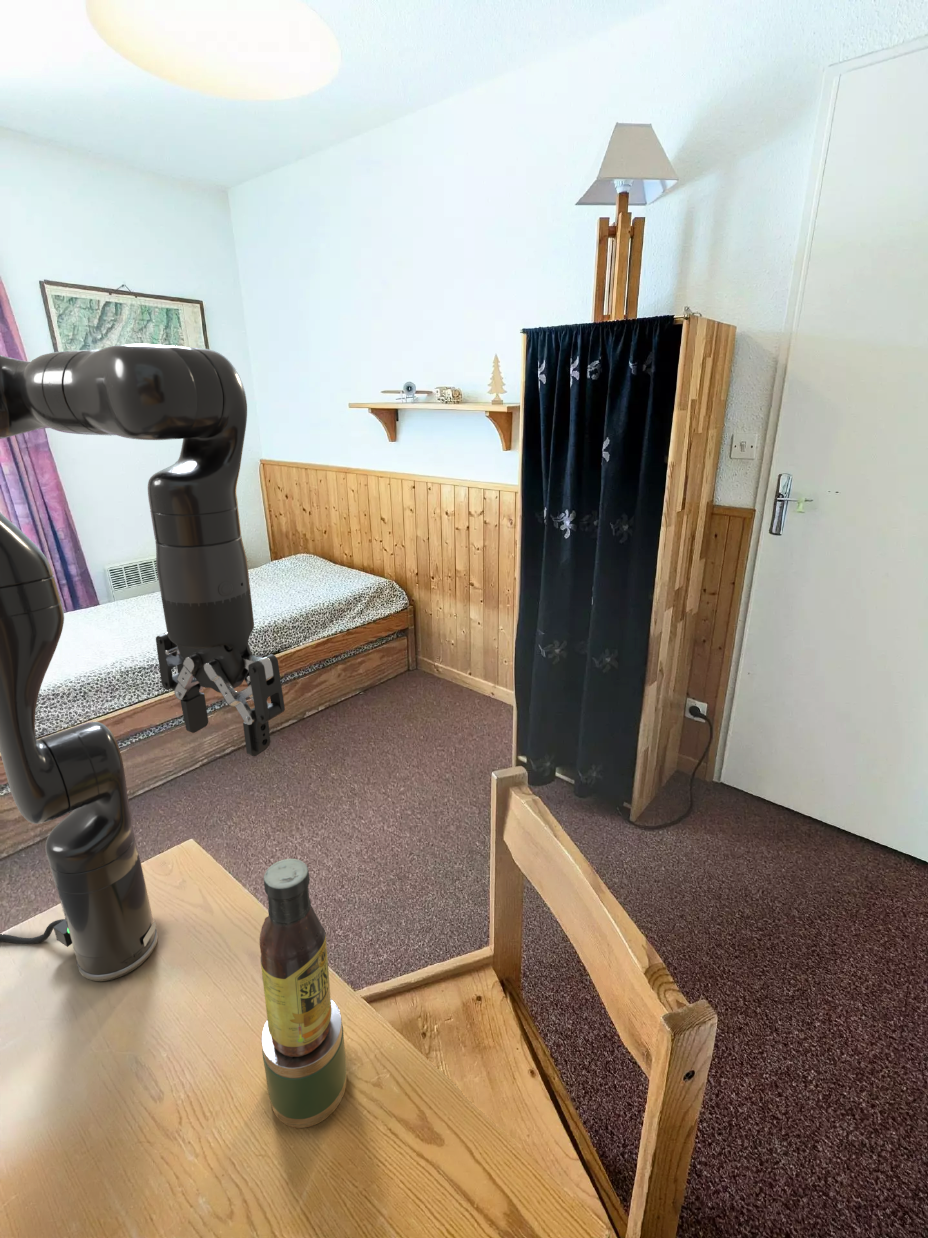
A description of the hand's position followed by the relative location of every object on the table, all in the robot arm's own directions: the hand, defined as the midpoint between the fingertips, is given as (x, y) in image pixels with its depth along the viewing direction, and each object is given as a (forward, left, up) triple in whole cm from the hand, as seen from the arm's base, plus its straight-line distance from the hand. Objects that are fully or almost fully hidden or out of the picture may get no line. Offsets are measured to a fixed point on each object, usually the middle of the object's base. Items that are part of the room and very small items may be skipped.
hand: (227, 739), depth 61 cm
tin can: (+11, -4, -38) cm, 39 cm away
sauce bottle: (+11, -4, -29) cm, 31 cm away
